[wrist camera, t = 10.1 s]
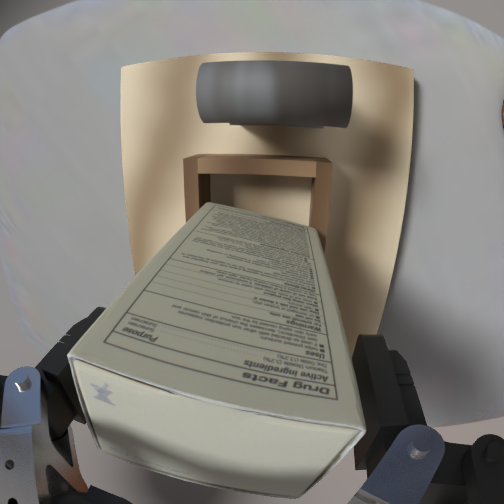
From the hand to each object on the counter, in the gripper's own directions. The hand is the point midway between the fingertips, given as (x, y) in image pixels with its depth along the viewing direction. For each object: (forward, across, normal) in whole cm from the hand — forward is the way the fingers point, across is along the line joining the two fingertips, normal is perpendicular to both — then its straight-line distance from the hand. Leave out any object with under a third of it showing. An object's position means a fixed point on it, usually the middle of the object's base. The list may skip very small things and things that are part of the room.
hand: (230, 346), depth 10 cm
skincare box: (+8, 0, 0) cm, 8 cm away
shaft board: (+12, 0, 0) cm, 12 cm away
